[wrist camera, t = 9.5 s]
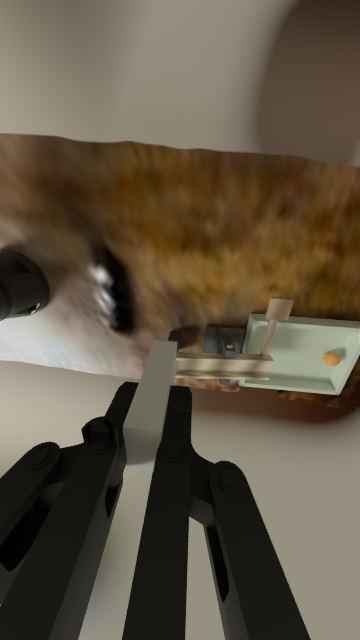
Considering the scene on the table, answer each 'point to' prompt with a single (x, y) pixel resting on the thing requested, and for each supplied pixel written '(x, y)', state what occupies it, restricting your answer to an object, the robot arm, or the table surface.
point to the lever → (242, 363)
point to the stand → (218, 341)
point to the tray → (304, 353)
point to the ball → (332, 359)
